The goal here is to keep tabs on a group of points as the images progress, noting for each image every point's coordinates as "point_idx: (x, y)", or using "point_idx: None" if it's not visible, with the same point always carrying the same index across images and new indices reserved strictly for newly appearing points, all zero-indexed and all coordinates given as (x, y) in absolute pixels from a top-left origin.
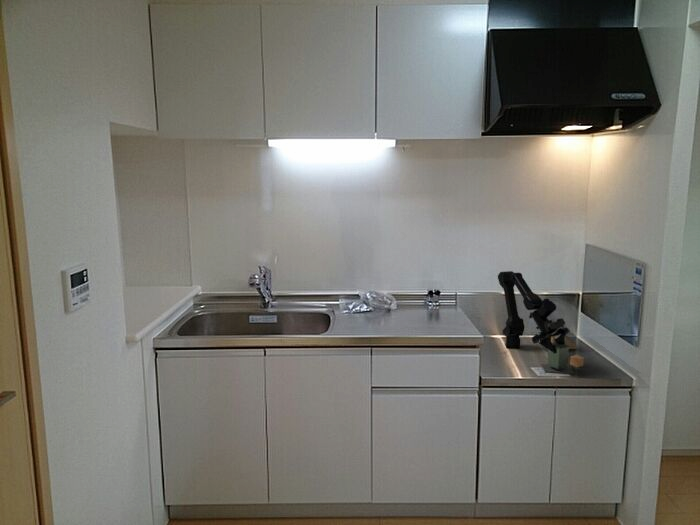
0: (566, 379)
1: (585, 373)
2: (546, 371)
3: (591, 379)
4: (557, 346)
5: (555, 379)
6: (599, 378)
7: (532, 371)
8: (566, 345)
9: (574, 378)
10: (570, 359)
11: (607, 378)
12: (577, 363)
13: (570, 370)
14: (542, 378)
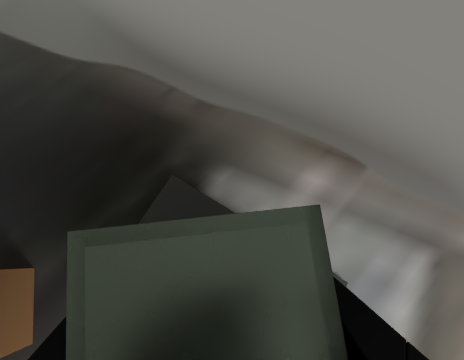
0: (285, 131)
1: (85, 157)
2: (338, 277)
3: (137, 73)
4: (298, 285)
5: (353, 157)
6: (77, 66)
7: (423, 338)
8: (96, 261)
9: (224, 123)
10: (1, 356)
11: (32, 48)
12: (13, 272)
13: (153, 221)
14: (426, 202)
